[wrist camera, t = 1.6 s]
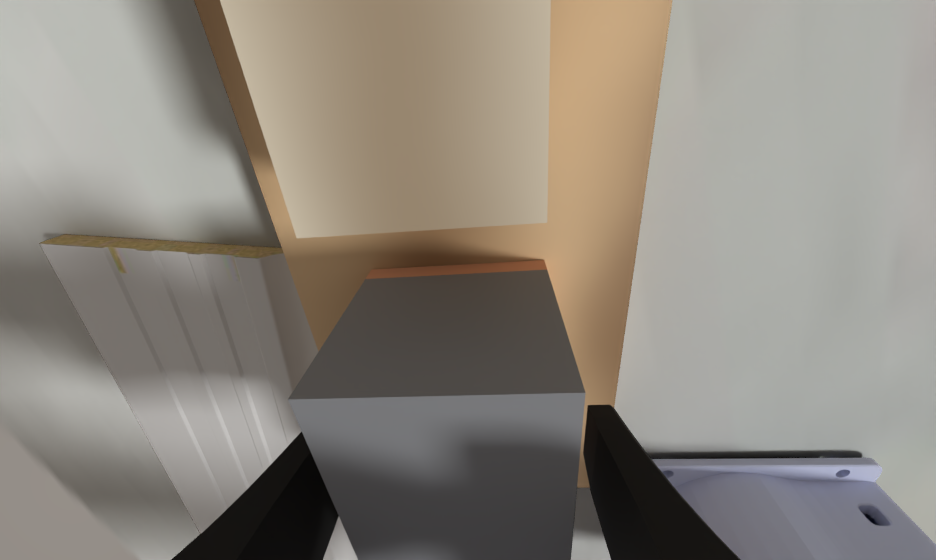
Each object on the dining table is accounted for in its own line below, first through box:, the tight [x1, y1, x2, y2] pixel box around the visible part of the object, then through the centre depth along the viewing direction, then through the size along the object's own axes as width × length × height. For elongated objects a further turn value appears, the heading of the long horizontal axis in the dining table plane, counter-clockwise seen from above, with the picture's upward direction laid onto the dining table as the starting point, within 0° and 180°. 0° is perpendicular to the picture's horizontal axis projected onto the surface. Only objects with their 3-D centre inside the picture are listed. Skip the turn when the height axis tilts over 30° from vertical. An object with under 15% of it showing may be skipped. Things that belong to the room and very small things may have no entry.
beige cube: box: [220, 0, 551, 238], centre depth 7 cm, size 4×4×4 cm
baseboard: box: [39, 234, 358, 560], centre depth 19 cm, size 30×3×10 cm
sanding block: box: [288, 260, 586, 560], centre depth 10 cm, size 5×9×5 cm, turn 5°
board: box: [194, 0, 672, 488], centre depth 11 cm, size 10×22×2 cm, turn 5°
